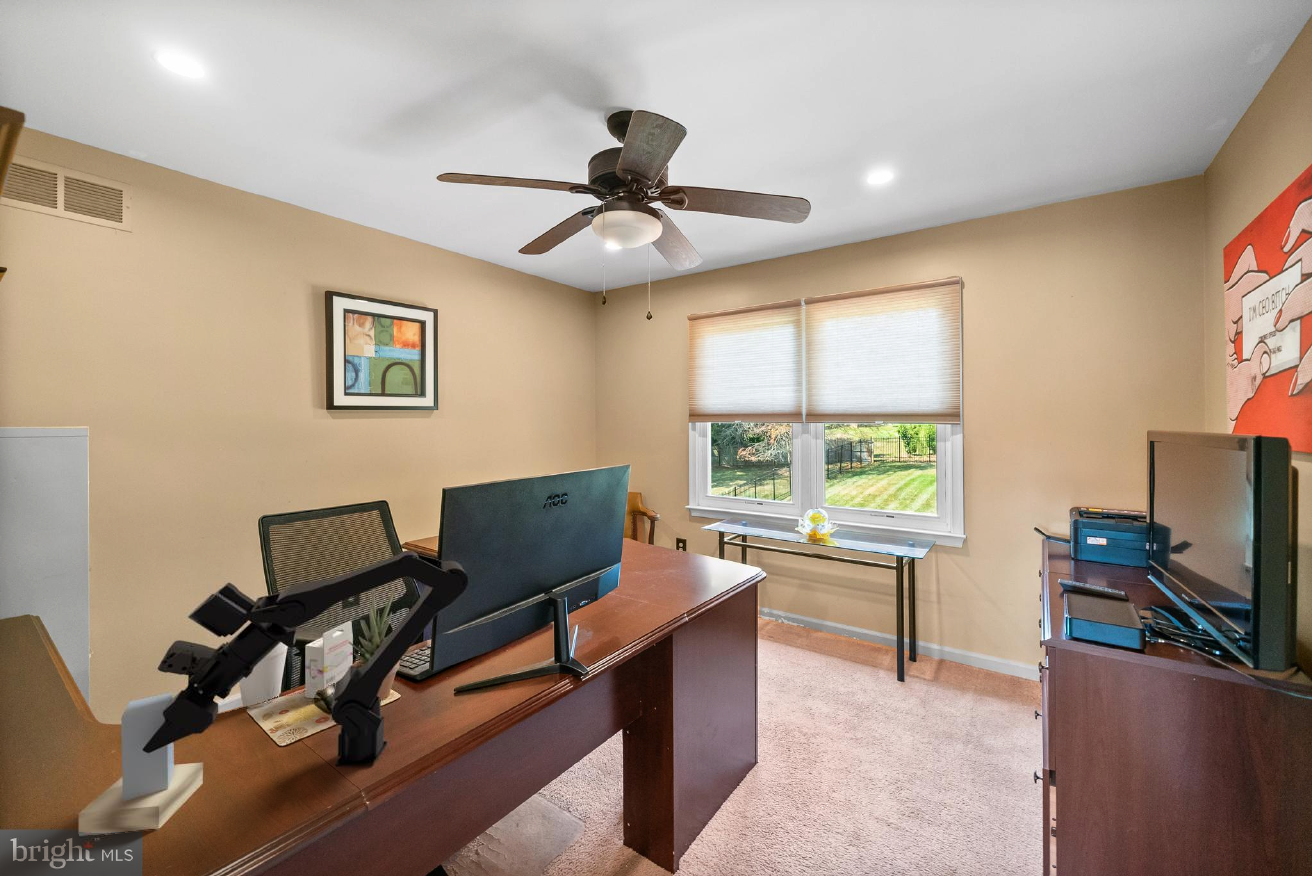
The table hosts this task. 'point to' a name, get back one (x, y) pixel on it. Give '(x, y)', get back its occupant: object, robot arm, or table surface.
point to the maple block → (140, 804)
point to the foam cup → (264, 678)
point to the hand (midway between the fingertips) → (156, 734)
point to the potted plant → (376, 643)
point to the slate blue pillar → (137, 729)
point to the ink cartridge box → (328, 659)
